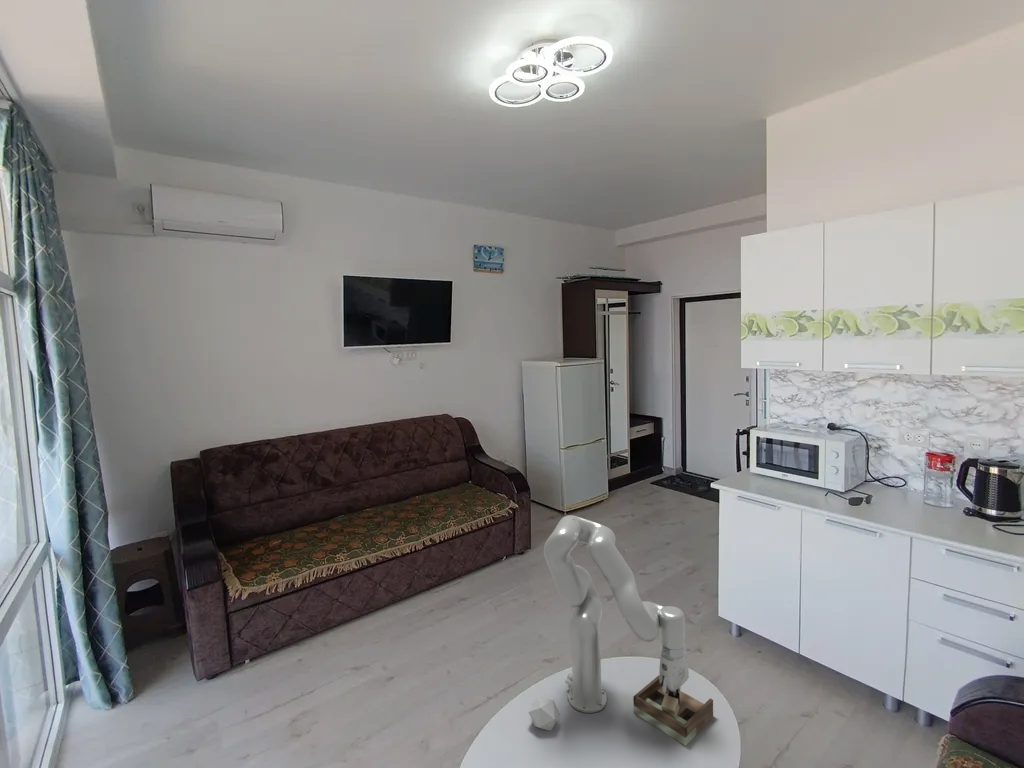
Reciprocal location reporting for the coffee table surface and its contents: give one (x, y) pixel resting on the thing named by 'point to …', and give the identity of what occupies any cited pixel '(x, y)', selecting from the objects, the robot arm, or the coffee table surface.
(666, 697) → the maple block
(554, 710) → the die
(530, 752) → the coffee table surface
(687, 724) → the box
